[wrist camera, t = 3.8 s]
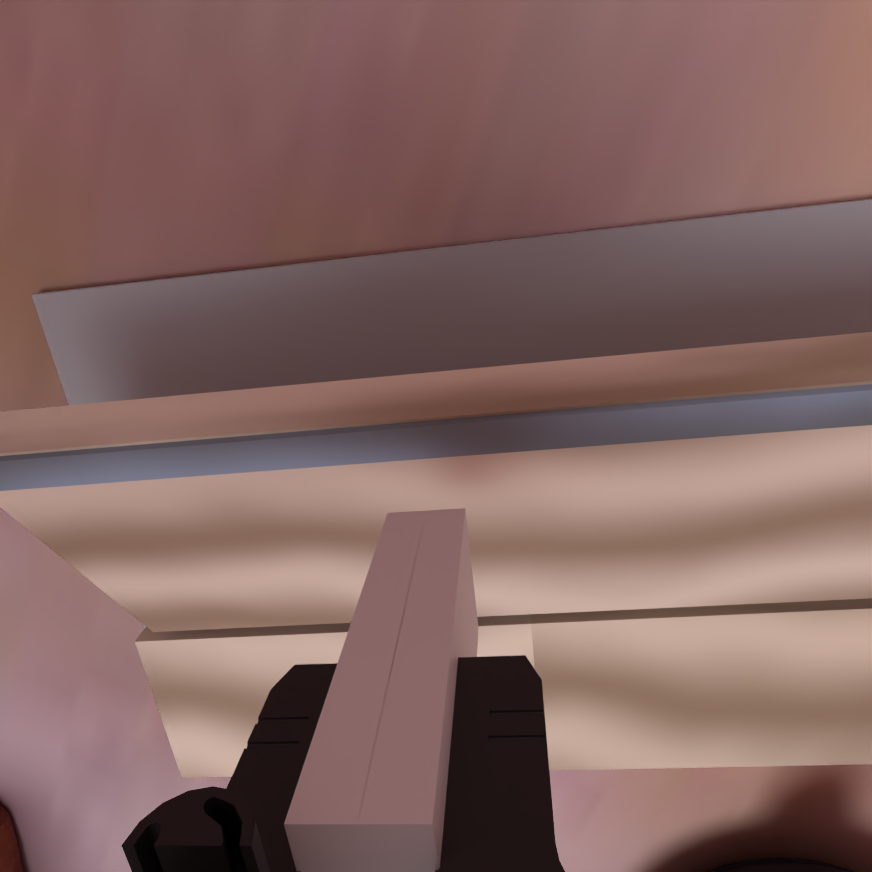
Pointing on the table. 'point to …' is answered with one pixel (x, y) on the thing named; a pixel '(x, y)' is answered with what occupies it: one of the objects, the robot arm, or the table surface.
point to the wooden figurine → (8, 845)
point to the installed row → (582, 684)
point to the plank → (469, 485)
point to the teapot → (781, 866)
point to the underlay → (470, 305)
